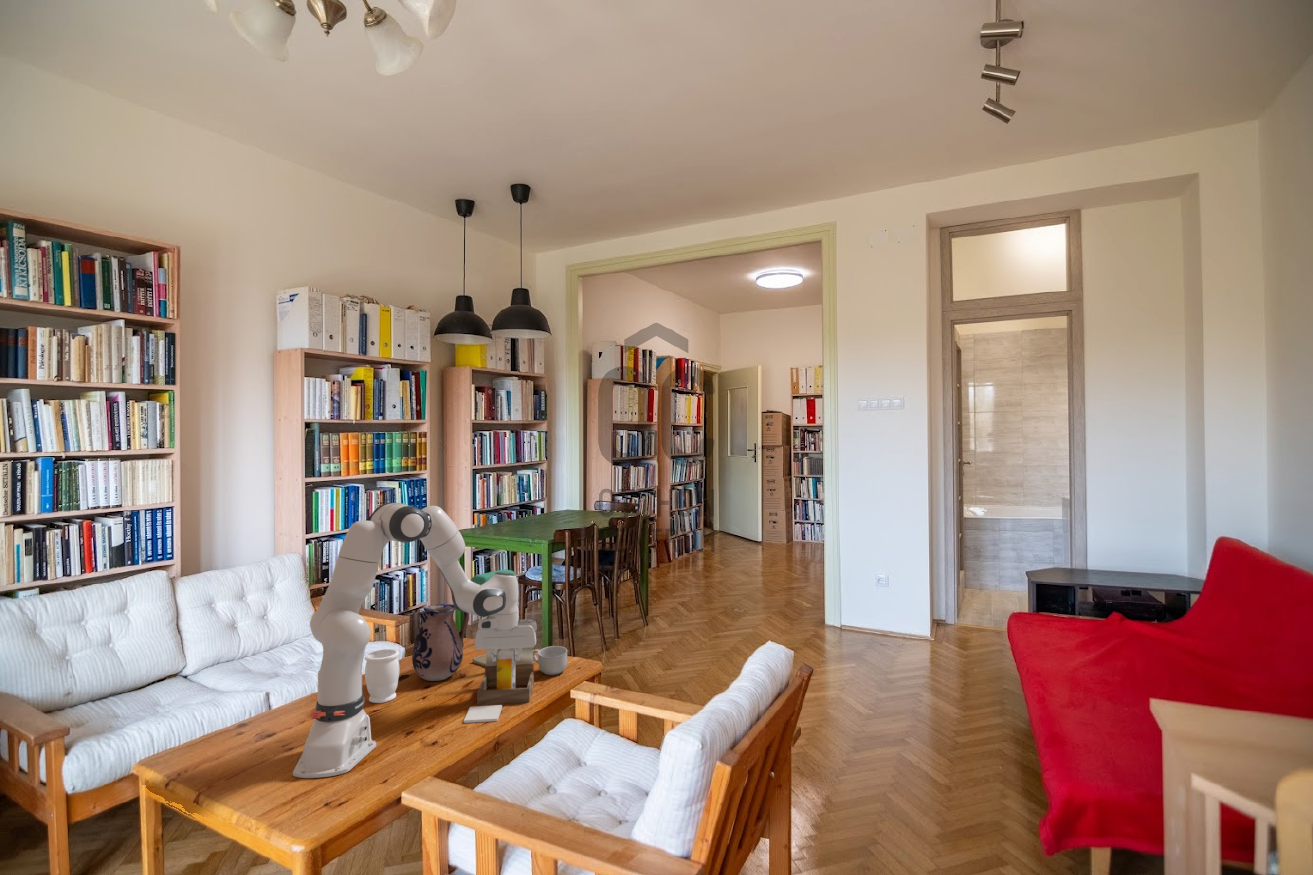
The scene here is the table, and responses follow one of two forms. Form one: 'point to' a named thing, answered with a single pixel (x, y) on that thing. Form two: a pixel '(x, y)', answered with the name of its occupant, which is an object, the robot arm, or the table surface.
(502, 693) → the box
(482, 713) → the stone tile
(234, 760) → the table surface
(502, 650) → the beer can
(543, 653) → the teacup
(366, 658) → the jar
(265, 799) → the table surface
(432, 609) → the ceramic pitcher
